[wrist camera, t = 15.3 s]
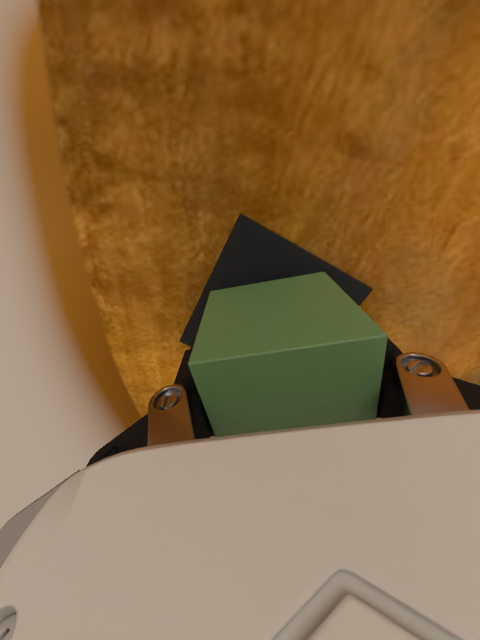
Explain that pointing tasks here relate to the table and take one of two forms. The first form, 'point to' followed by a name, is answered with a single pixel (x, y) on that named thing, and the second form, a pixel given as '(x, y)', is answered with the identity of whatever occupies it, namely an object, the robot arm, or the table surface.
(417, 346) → the table surface
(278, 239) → the coaster
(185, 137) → the table surface
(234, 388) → the green block
